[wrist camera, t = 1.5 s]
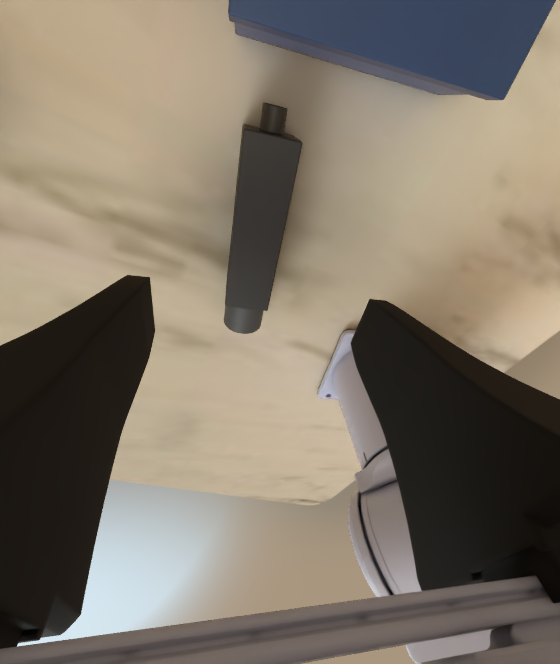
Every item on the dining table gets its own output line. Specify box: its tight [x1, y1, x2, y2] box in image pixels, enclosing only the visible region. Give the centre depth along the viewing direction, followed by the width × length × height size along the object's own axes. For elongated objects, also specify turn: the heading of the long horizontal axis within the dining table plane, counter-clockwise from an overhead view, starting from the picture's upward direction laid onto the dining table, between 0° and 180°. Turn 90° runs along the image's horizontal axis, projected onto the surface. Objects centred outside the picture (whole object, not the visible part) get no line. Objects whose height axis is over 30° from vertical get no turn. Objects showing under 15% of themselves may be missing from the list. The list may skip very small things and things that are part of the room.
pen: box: [224, 103, 302, 334], centre depth 16 cm, size 12×3×3 cm, turn 169°
